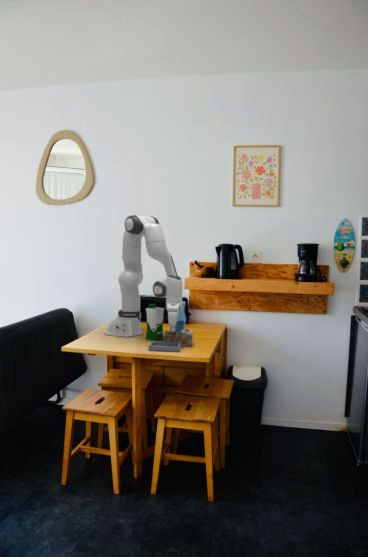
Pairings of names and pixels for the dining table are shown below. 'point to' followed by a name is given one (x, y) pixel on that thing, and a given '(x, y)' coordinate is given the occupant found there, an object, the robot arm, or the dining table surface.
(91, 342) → the dining table surface
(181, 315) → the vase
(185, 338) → the tensioner block
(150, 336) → the milk carton
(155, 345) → the tray
